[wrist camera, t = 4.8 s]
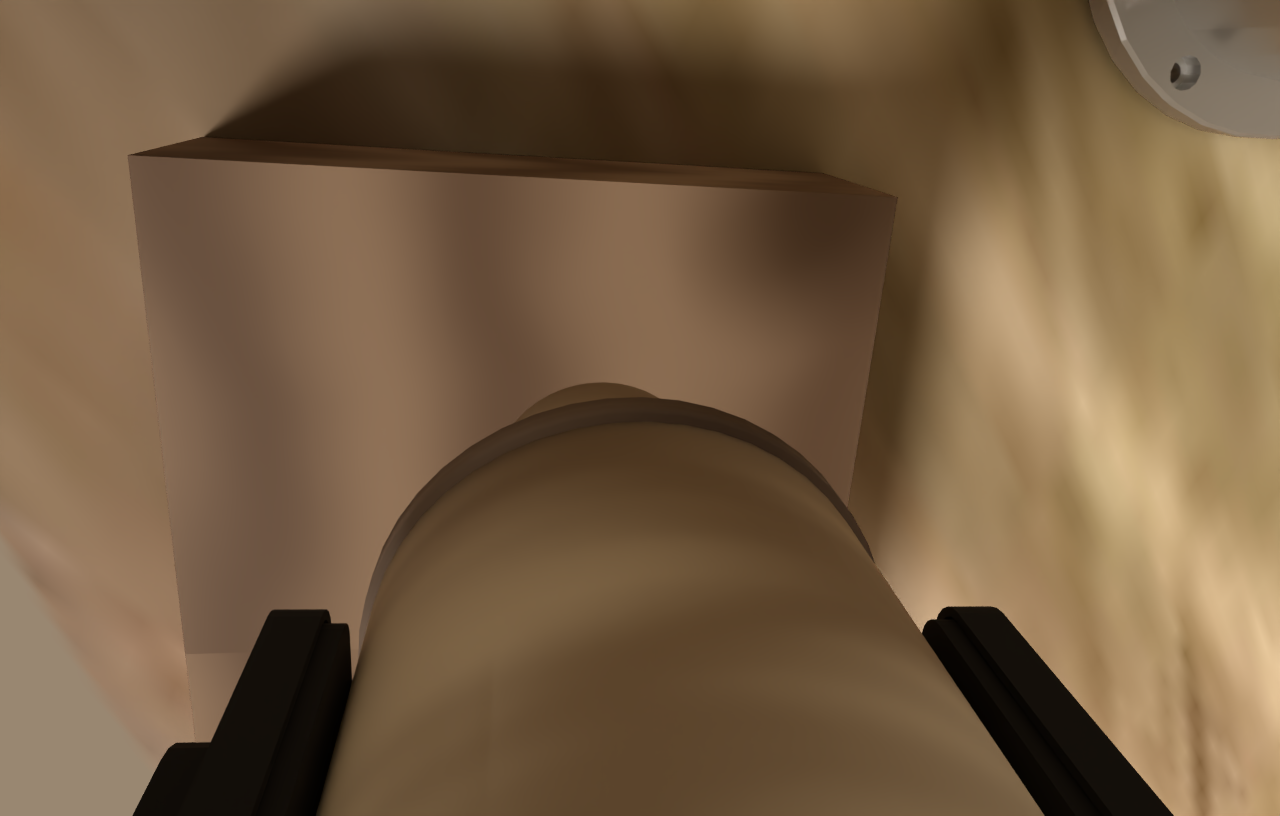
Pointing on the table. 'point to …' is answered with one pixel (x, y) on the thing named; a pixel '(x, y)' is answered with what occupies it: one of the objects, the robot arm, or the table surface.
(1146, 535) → the table surface
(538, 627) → the peg
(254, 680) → the robot arm
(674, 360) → the board
